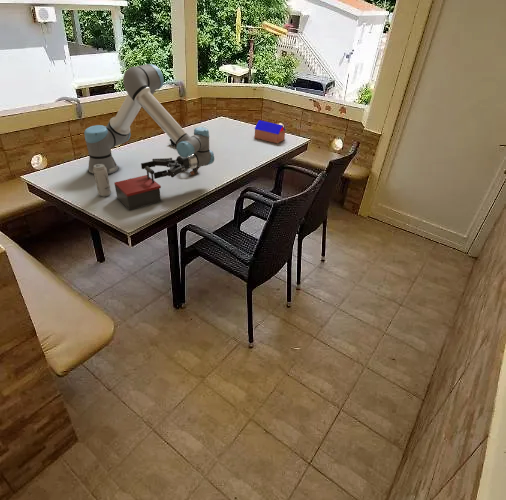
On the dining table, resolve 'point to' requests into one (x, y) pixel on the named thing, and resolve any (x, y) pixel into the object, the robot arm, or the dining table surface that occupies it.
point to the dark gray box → (138, 198)
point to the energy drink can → (102, 180)
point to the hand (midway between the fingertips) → (147, 171)
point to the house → (269, 132)
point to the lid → (138, 184)
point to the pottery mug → (194, 171)
